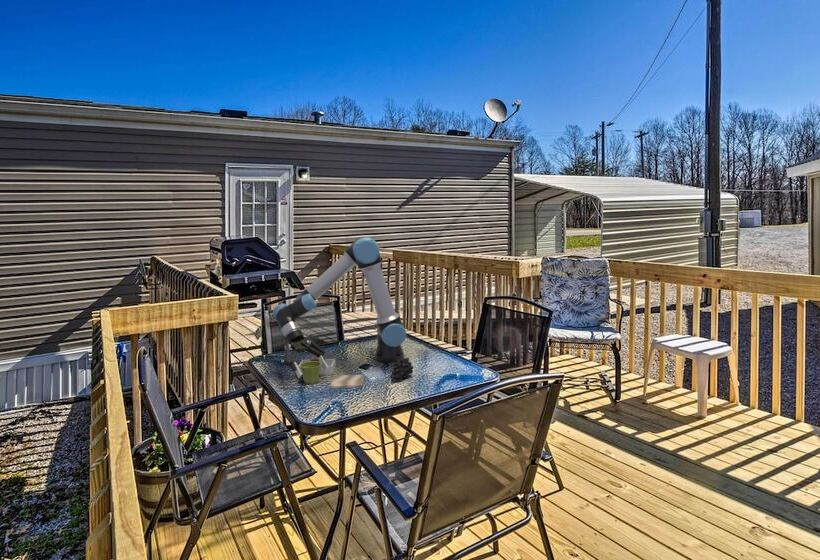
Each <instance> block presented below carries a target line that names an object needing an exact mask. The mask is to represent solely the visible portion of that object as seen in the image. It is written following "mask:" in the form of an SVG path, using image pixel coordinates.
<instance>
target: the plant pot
mask: <svg viewBox="0 0 820 560" xmlns="http://www.w3.org/2000/svg"><path fill="white" fill-rule="evenodd" d="M299 364H300V363H299ZM321 365H322V363H321V362H318V361H309V362H305V363H302V364H300V367H301V370H302V373H303V375H302V377H303V381H304V383H305V384H311V386H313V385H314V384H315V383H318V382H319V381H320V374H319V373H320V367H321Z"/></svg>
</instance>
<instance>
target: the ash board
mask: <svg viewBox="0 0 820 560" xmlns="http://www.w3.org/2000/svg"><path fill="white" fill-rule="evenodd" d="M365 377H366V376H365V374H346V375H340V374H339V375H333V377H332V380H331V382H330V385H329V389H350V388H364V387H363V386H364V382H365Z"/></svg>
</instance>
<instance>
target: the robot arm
mask: <svg viewBox="0 0 820 560" xmlns="http://www.w3.org/2000/svg"><path fill="white" fill-rule="evenodd" d="M382 262H383V259H382V256H381V253H380V247H379V244H378V242H377V241H376V240H375V239H373V238H372V237H368V236H360V237H357V238H356V239H355V240H354V241H353V242H352V244H350V245H349V246H348V248H347V249H346V250H344V252H343V255H342V256H341V257H340V258H339V259H338V260H336V261H335V262H334V263H333V264H332V265H331V266H330V267H328V268H327V270H325V271H324V272H323V273H322V274H321V275H320V276H318V277H317V278H316V279H315V280H314V281H313V282H312V283H311V284H310V285H308V286H307V287H306V288H305V289H304V290H302V292H300V293H298V294H297V296H296V297H295V301H293V302H292V303H290V304H286V303H280V304H278V305H275V307H274V308H273V310H272V314H273V317H274V318H275V320H276V323H277V325H278V326H279V328H280V331H281V332H282V334H283V335H284V338H285V340H286V342H287V343H285V345H284V347H283V350H284V366H288V367H291V371H293V372H295V375H296V376H297V378H298V379H300V378H301V377H302V376H303V375H302V373H301V371H300V369H299V367H298V366H299V364H298V363H297V362H296V361H295V359H296V356H297V353H301V352H308V353H309V354H312V355H314V357H316V356H317V357H319V358H318V360H319V362H321V363H322V367H323V369H324V371H325V370H326V369H327V368H328V366H327V364H326V360H325V359H326V358H325V356H324V355H325V354H326V353H327V352H326V350H324V349H323V348H322V347H321V346H320V345H319V344H317V343H316V342H315V341H314V340H313V338H311V337H310V338H309V339H307V340H306V339H305V336H304V334H303V332H302V330H301V327H300V326H299V325H298V323H297V319H299V318H301V317H302V316H304V315H306V314H307V313H309V312H312V310H314V309H315V308H316V307H317V302H316V301H317V300H318V299H319V298H320V297H321V296H323V294H325V293H326V292H327V291H328V290H329V289H331V288H332V286H334V285H335V284H336V283H337V282H338V281H339V280H340V279H342V278H343V277H344V276H345V275H346V274H347V273H348V272H350V270H352V269H353V268H354V267H358V270H360V271H362V272H363V275H364V277H365V278H364V279H365V281H366V285H367V288H368V290H369V294H370V296H371V300H372V302H373V305H374V309H375V312H376V315H377V317H376V330H377V332H376V333H377V334H376V335H377V337H376V338H377V345H376V349H375V351H374V360H375V361H377V362H382V363H383V362H384V363H396V362H397V360H398V359H400V360H401V358H404V359H405V352H404V350H403V346H402V344H404V342H405V340H406V339H407V331H406V328H405V327H404V325H403V322H402V318H401V316H400V314H399V313H397V312H396V311H395V308H394V304H393V301H392V298H391V294H390V291H389V288H388V286H387V282H386V280H385V277H384V274H383V270H382V267H381V264H383V263H382ZM290 349H292V354H290V353H291V352H290V351H291V350H290ZM290 355H291V356H290Z"/></svg>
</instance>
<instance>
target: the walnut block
mask: <svg viewBox="0 0 820 560" xmlns="http://www.w3.org/2000/svg"><path fill="white" fill-rule="evenodd" d="M318 358H319V357H317V356H311V358H310V359H309V360H310V361H318V362H319V360H318ZM321 366H322V365H321Z"/></svg>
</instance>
